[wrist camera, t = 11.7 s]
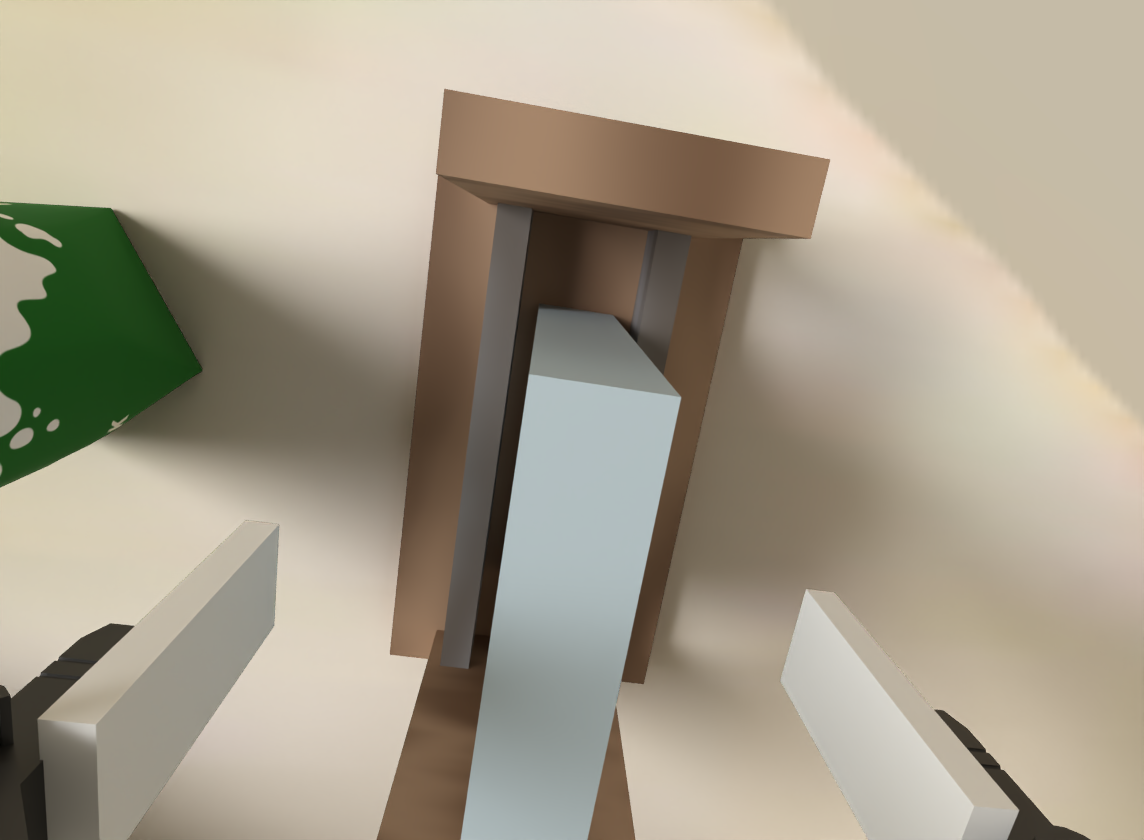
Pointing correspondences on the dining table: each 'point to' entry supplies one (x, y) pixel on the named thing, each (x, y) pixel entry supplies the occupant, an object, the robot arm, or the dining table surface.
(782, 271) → the dining table surface
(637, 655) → the track frame
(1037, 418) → the dining table surface
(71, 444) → the milk carton
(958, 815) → the robot arm
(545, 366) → the door panel
